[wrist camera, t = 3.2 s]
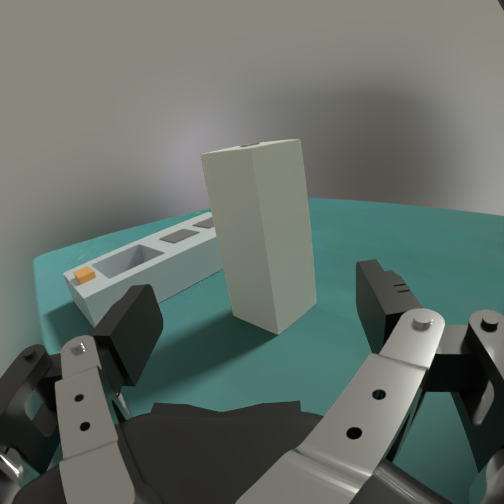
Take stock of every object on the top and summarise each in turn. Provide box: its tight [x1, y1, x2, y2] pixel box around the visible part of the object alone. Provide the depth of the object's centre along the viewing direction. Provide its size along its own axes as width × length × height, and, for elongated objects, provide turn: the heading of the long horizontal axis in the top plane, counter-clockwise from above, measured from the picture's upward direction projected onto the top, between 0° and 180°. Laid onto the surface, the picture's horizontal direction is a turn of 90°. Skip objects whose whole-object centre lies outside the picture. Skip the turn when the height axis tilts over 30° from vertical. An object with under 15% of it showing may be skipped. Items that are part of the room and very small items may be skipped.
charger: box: [201, 139, 317, 335], centre depth 21 cm, size 4×4×12 cm
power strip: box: [63, 212, 223, 328], centre depth 32 cm, size 20×9×4 cm, turn 136°
